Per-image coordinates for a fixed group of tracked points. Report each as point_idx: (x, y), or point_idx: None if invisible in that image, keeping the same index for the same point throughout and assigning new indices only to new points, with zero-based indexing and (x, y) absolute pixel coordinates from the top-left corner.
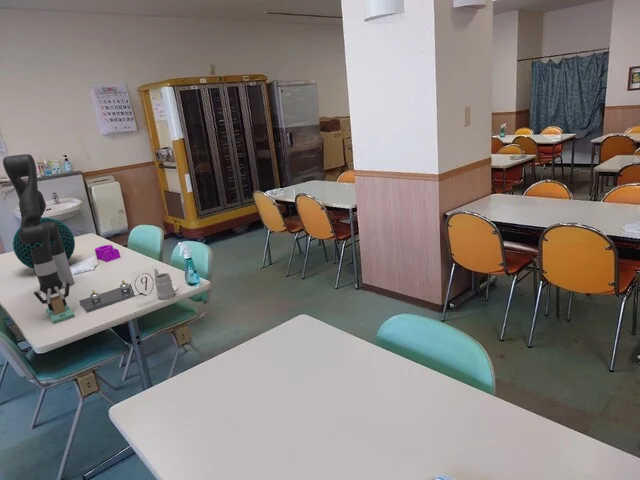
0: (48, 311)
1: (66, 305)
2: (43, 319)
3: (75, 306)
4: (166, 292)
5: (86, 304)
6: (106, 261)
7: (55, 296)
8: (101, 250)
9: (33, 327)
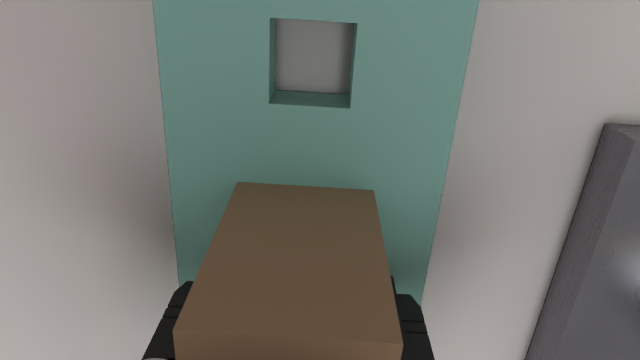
0: (182, 145)
1: (436, 154)
2: (120, 215)
3: (521, 161)
4: None
5: (593, 355)
6: None
7: (317, 355)
8: None
9: (26, 327)
